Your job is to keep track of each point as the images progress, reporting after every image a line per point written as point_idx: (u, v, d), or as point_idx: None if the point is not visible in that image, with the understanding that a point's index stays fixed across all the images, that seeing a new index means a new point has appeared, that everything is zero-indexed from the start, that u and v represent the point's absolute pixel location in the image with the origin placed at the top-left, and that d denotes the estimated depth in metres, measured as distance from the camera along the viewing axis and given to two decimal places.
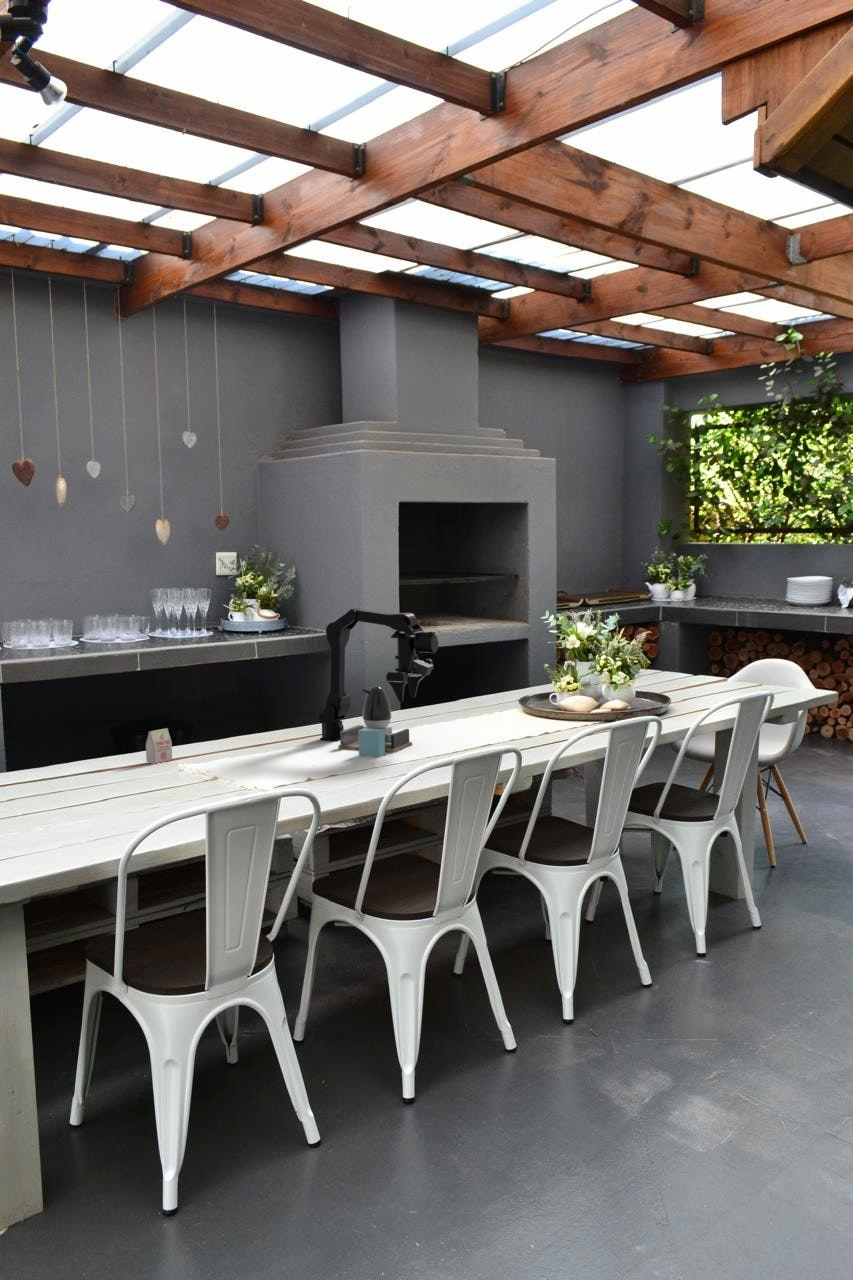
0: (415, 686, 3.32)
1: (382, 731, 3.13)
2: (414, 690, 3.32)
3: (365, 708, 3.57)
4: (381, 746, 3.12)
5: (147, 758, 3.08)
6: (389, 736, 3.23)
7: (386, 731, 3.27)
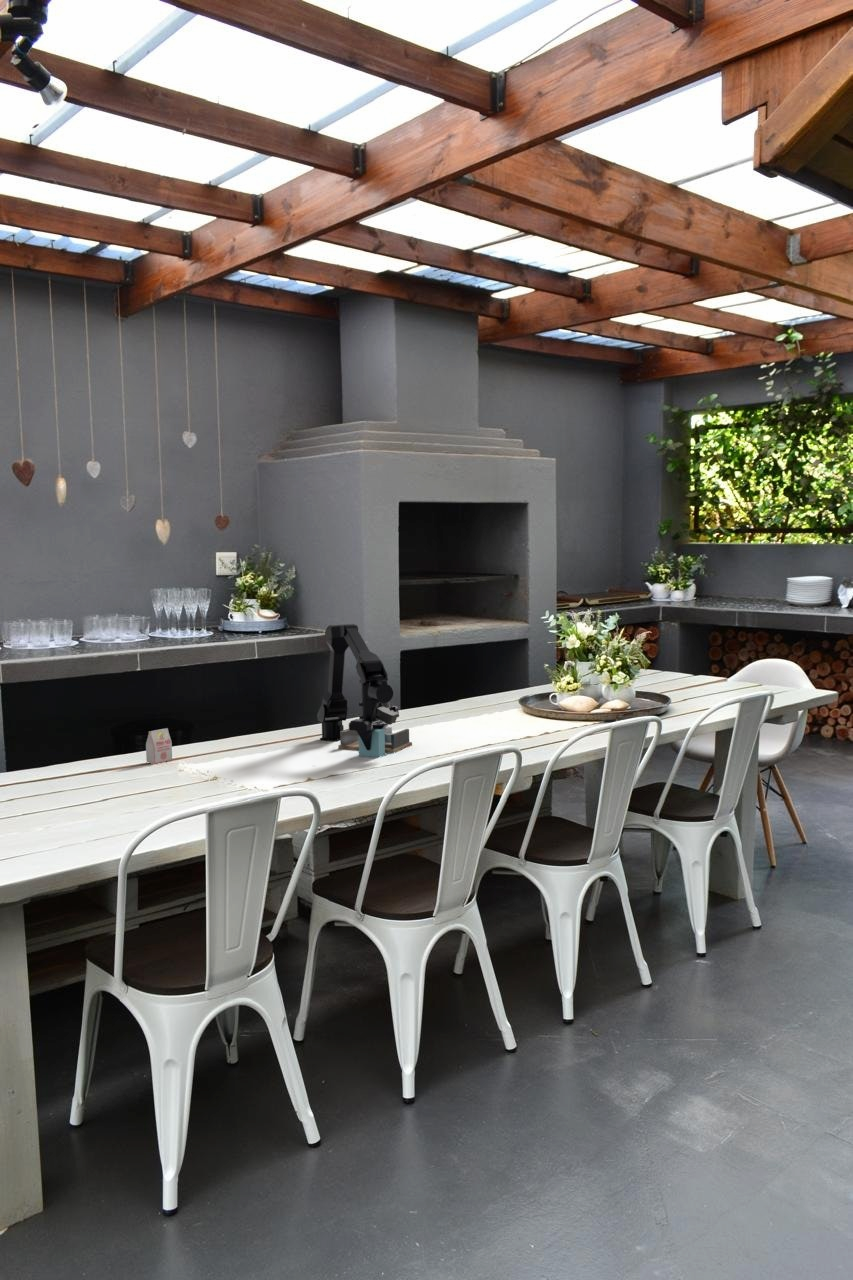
0: None
1: (382, 731, 3.13)
2: None
3: None
4: (381, 746, 3.12)
5: (147, 758, 3.08)
6: (389, 736, 3.23)
7: (386, 731, 3.27)
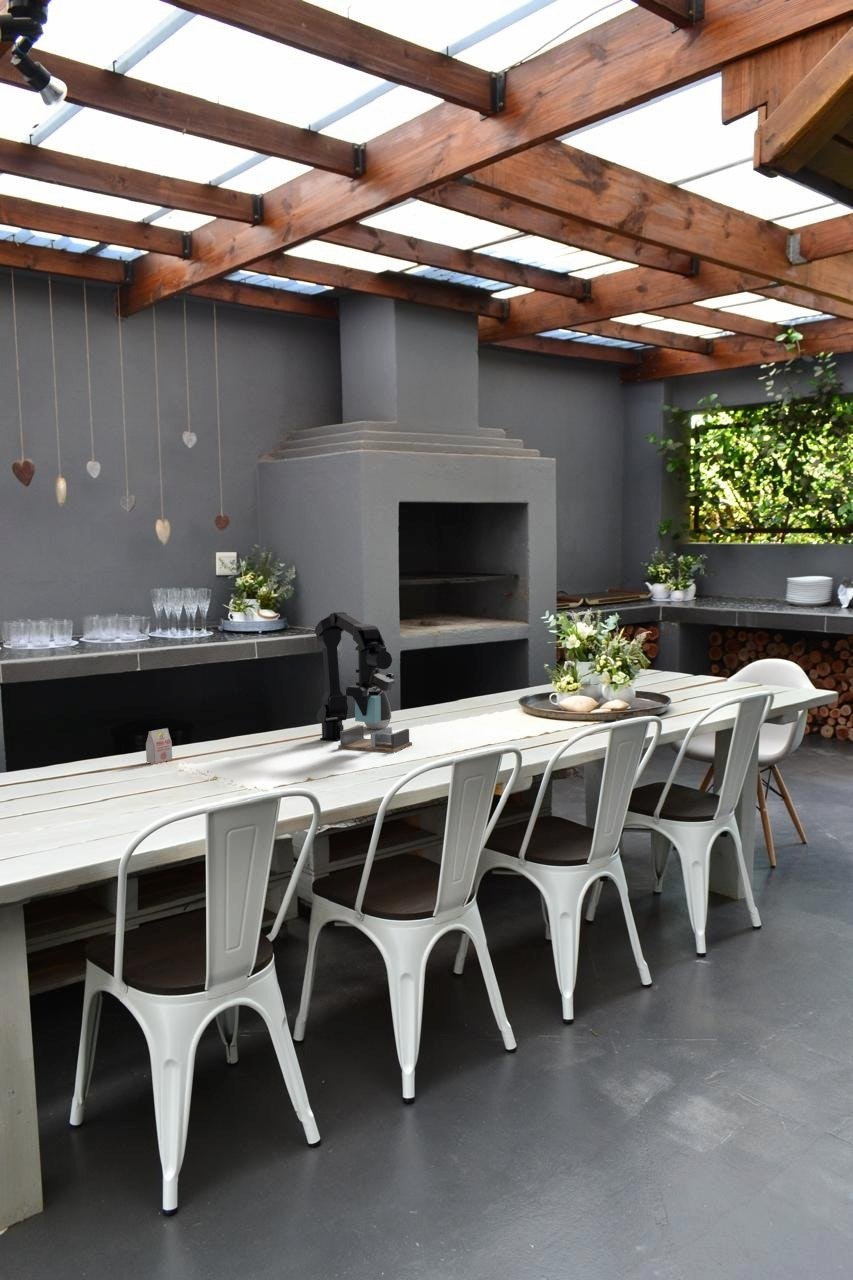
0: None
1: (378, 697, 3.19)
2: None
3: None
4: (377, 712, 3.19)
5: (147, 758, 3.08)
6: (389, 736, 3.23)
7: (386, 731, 3.27)
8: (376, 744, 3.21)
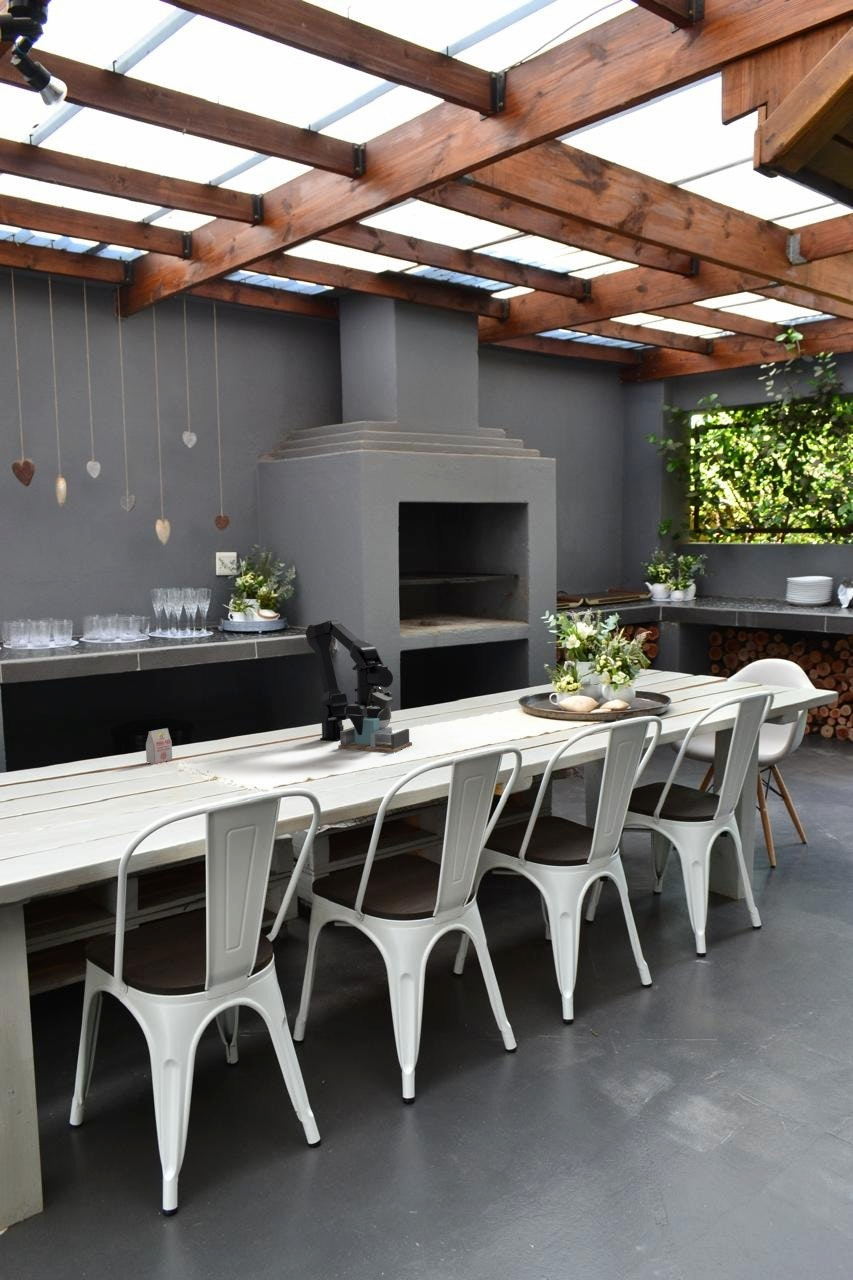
0: None
1: (377, 720, 3.27)
2: None
3: None
4: None
5: (147, 758, 3.08)
6: (389, 736, 3.23)
7: (386, 731, 3.27)
8: (376, 744, 3.21)
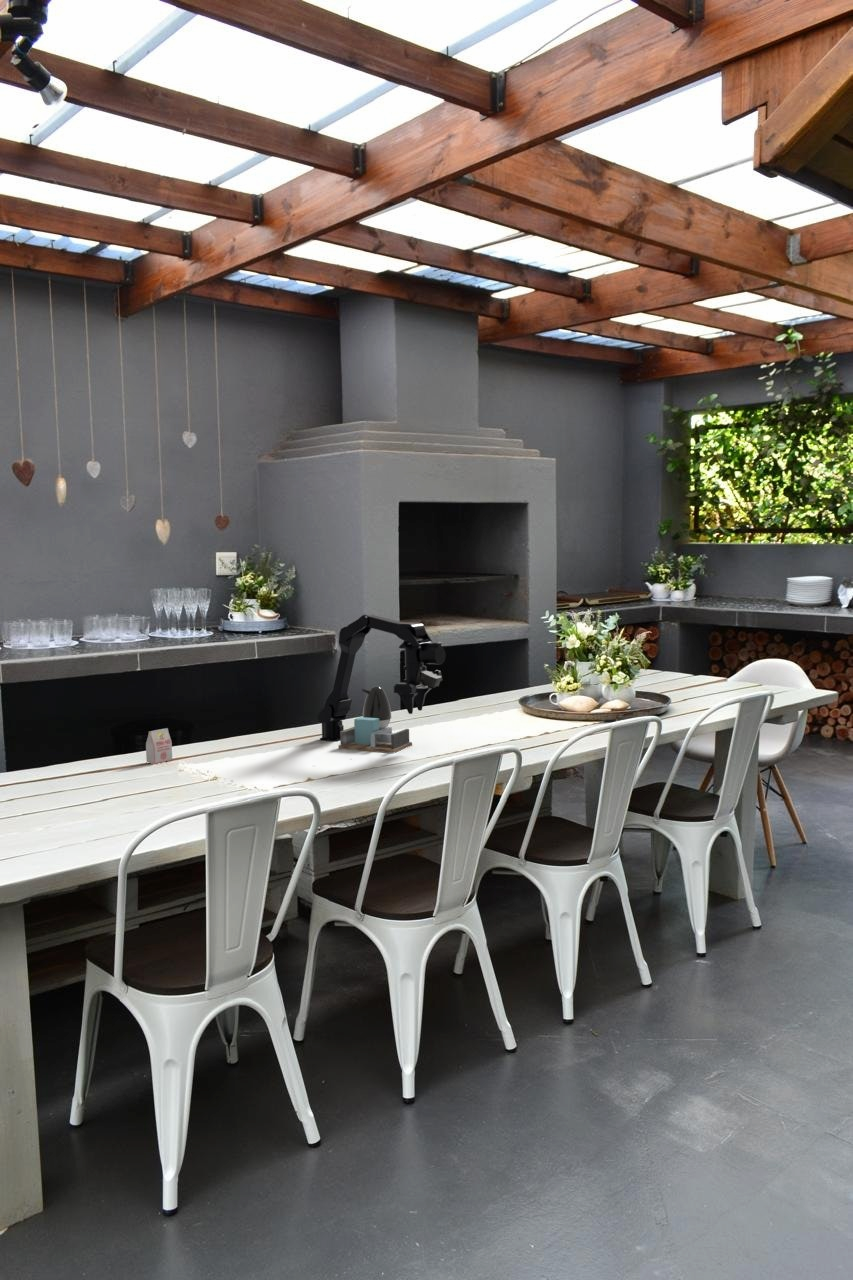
0: (422, 698, 3.22)
1: (377, 720, 3.27)
2: (421, 702, 3.23)
3: (365, 708, 3.57)
4: None
5: (147, 758, 3.08)
6: (389, 736, 3.23)
7: (386, 731, 3.27)
8: (376, 744, 3.21)
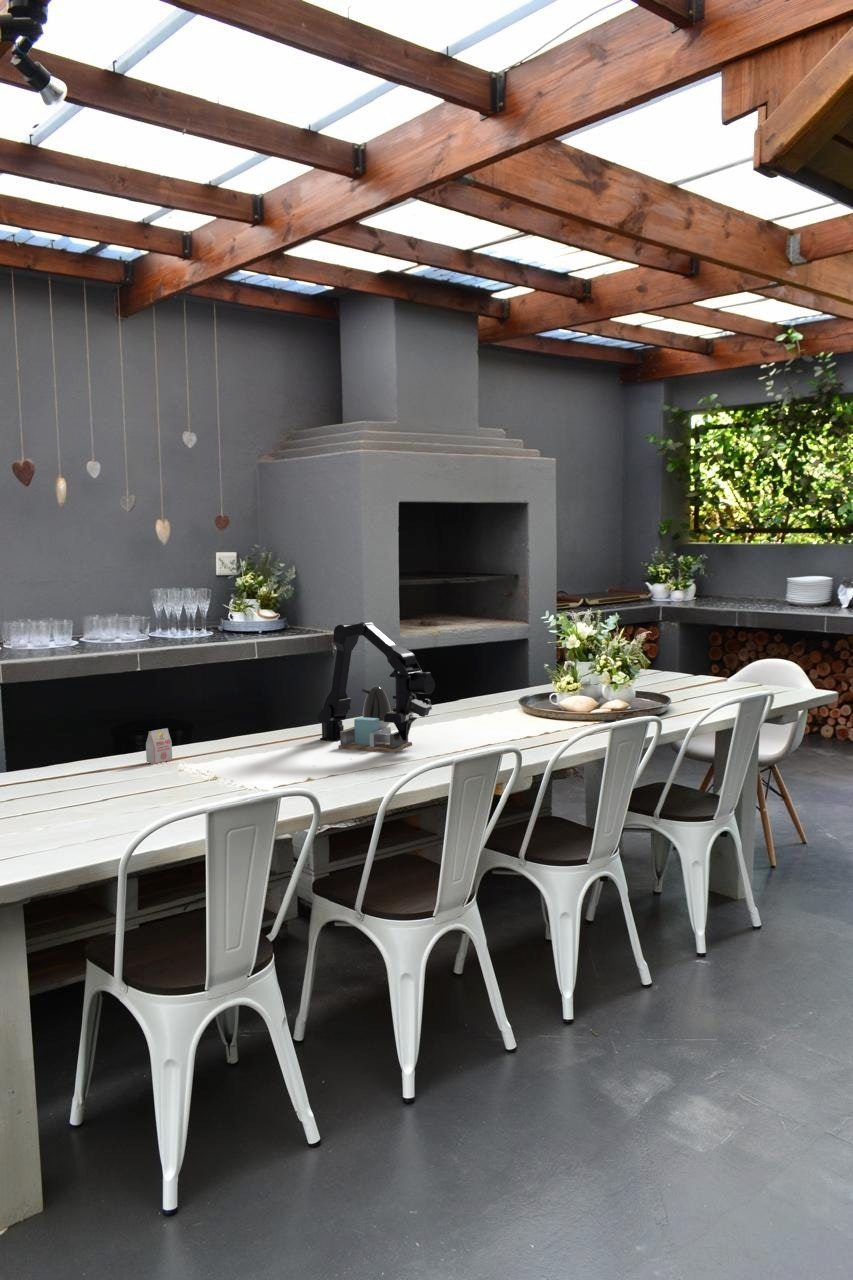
0: None
1: (377, 720, 3.27)
2: None
3: (365, 708, 3.57)
4: None
5: (147, 758, 3.08)
6: (388, 736, 3.23)
7: (385, 731, 3.27)
8: (375, 744, 3.21)
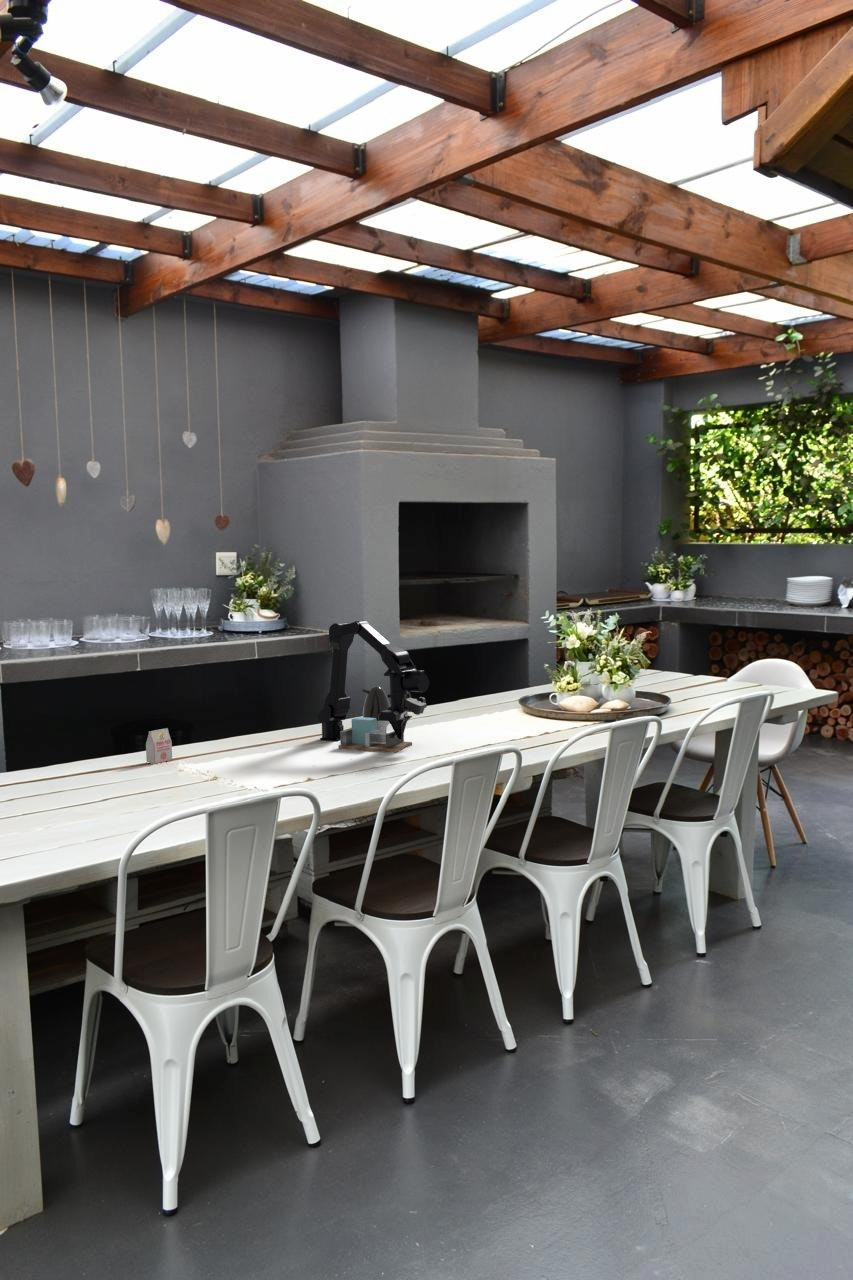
0: None
1: (374, 720, 3.27)
2: None
3: (365, 708, 3.57)
4: None
5: (147, 758, 3.08)
6: (383, 736, 3.24)
7: (381, 731, 3.28)
8: (370, 744, 3.22)
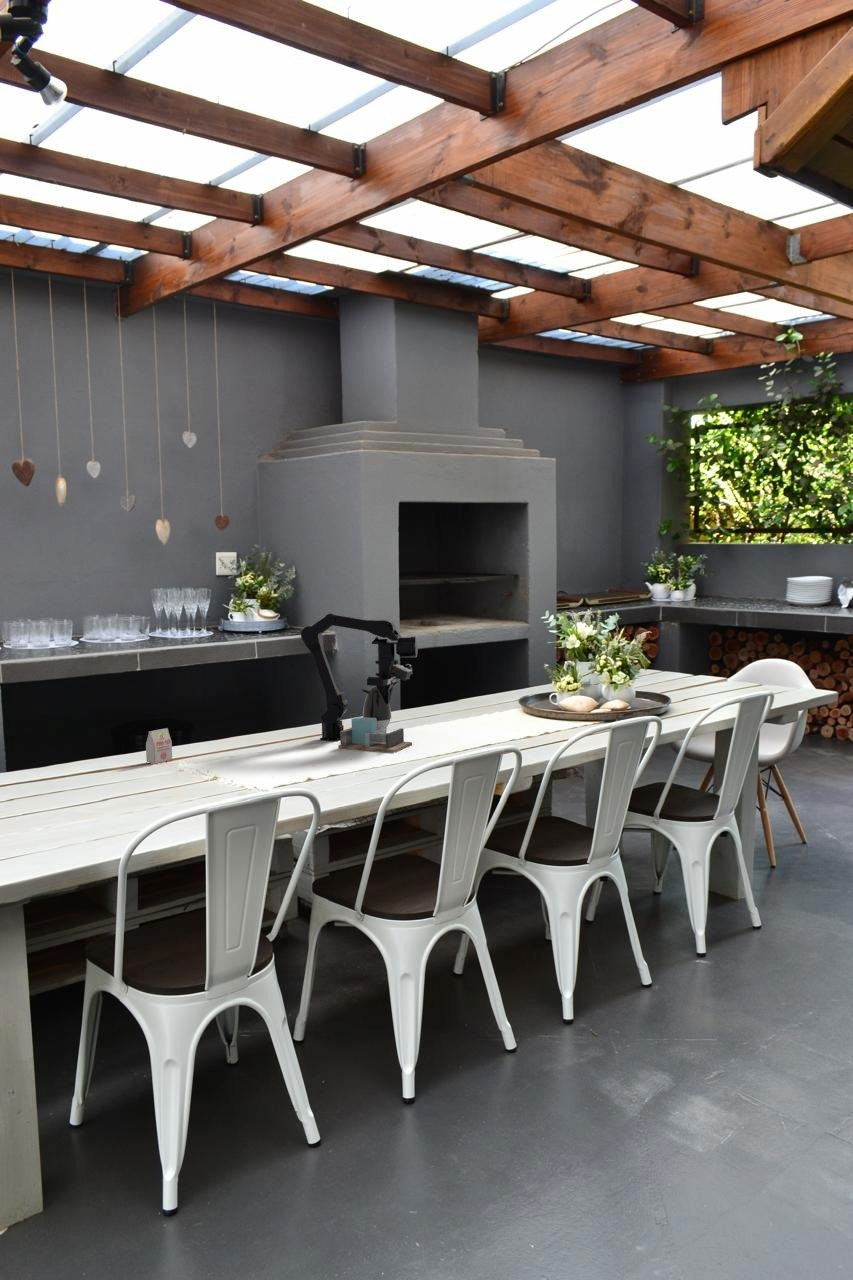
0: None
1: (374, 720, 3.27)
2: None
3: (365, 708, 3.57)
4: None
5: (147, 758, 3.08)
6: (383, 736, 3.24)
7: (381, 731, 3.28)
8: (370, 744, 3.22)
